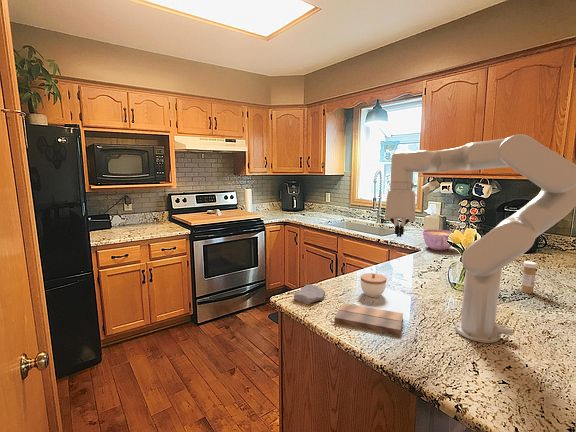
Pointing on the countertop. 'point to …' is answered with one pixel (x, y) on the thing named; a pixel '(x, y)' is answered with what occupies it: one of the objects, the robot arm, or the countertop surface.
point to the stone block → (309, 294)
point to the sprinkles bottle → (528, 277)
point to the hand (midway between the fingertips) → (399, 236)
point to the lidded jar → (373, 284)
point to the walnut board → (368, 322)
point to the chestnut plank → (371, 312)
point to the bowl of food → (436, 239)
